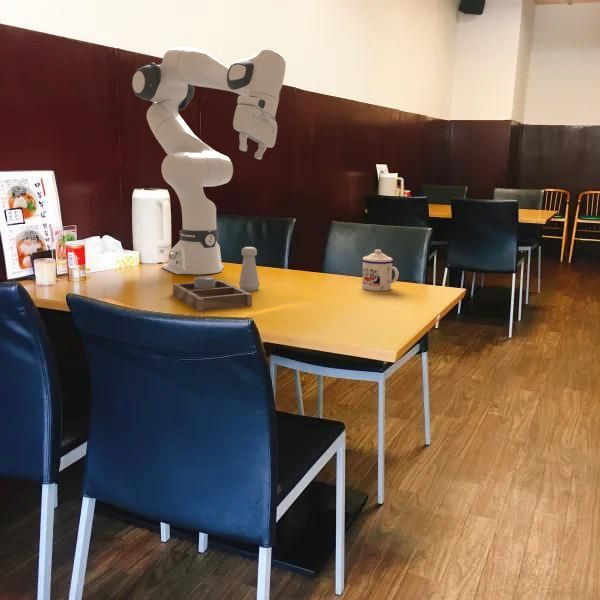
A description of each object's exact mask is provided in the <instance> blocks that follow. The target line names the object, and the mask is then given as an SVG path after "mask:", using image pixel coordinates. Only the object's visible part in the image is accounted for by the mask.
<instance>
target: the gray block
mask: <svg viewBox="0 0 600 600" xmlns="http://www.w3.org/2000/svg"><path fill="white" fill-rule="evenodd" d="M215 281H216V277H214V276H205V275H204V276H197V277H194V278H193V283H194V290H198V289H209V288H215Z"/></svg>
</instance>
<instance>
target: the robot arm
mask: <svg viewBox="0 0 600 600" xmlns="http://www.w3.org/2000/svg"><path fill="white" fill-rule="evenodd" d="M286 62H287V61H286V59H285V57H284V56H283V55H282V54H280V53H278V52H277V51H276V50H273V49H270V48H262V49H260V50H259V51H258V52H257V54H255V55H253V56H251V57H247V58H245V59H237V60H235V61H234V62H233V63H232V64H231V65H230V66H229V67H228V66H227V65H226V64H224V63H222V62H221V61H219V60H218V59H217V58H215V57H214V56H212V55H210V54H209V53H207V52H205V51H203V50H201V49H199V48H198V49H197V48H194V47H187V46H181V47H180V46H178V47H172V48H169V49H168V50H167V51H166V52H164V55H163V57H162V62H161V63H160V64H156V63H155V62H151V63H149V64H148V65H145V66H141V67H139V68H137V69H136V70H135V72H133V74H132V78H131V88H132V91H133V93H134V95H135V96H136V97H137V98H139V99H141V100H144V101H147V102H148V101H150V102H152V105H150V106H149V108H148V109H147V112H146V120H147V123H148V125H149V129H150V130H151V132H152V134H153V135H154V137H155V139H156V140H157V141H158V143H159V144H160V145H161V147H162V149H163V150H164V152H165V153H166V154H167V155H166V156H165V157H164V159H163V161H162V163H161V174H162V177H163V180H164V181H165V182H166V183H167V184H168V185H169V186H170V187H172V189H173V190H174V192H175V193H176V195H177V197H178V200H179V203H180V207H181V208H180V209H181V216H182V217H181V218H182V221H181V222H182V229H181V230H179V231H178V232H179V233H178V235H179V241H178V242H177V243H176V244H175V245H174V246H173V247H172V248H171V249H170V250H169V252H168V263H164V264H161V268H162V269H164V270H166V271H168V272H171V273H172V274H173V273H174V274H176V275H209V274H210V275H211V274H216V273H221V272H222V271H223V269H225V267H224V266H225V265H224V264H222V255H221V246H220V244H219V243H218V239H219V231H218V230H219V229H217V206H216V205H215V203H214V202H213V201H212V200H210V199H208V198H207V196H206V194H205V192H204V187H205V188H206V187H208V188H209V187H217V186H222V185H224V184H225V185H226V184H228V183H229V182H230V181H231V179H232V177H233V173H234V167H233V163H232V161H231V159H230V158H229V156H227V155H224V154H222V153H220V152H219V151H216V150H215V149H213V148H212V147H211V146H209V145H208V144H206V143H205V142H203V140H202V139H200V138H199V137H198V136H197V135H196V134H194V132H193V131H192V130H191V128H190V127H189V125H187V123H186V122H185V120H184V119H183V118H182V116H181V114H180V113H179V112H181V111H183V110H185V109H186V107H187V106H188V105H189V104H190V102H191V101H192V99H193V97H194V94H195V86H196V87H200V88H201V87H202V88H209V89H217V90H221V91H226V92H230V93H234V94H238V95H239V96H238V97H237V100H236V101H237V105H236V107H235V111H234V116H233V121H232V125H233V126H232V127H233V129H234V130H235V131H237V132H239V136H238V138H239V145H238V146H239V147H238V149H239V150H240V151H242V152H247V151H248V144H247V141H248V140H247V139H248V138H249V139H250V140H251V141H254V142H255V143H258V146H257V147H258V148H257V150H256V151H254V156H253V157H254V158H255V159H257V160H262V159H263V155H264V153H265V151H266V150H267V148H270V149H271V148H274V146H275V144H276V140H277V135H278V123H277V121H276V114H277V109H278V105H279V102H280V96H281V93H282V88H283V83H284V79H285V75H286V67H287V65H286Z"/></svg>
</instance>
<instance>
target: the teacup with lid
mask: <svg viewBox="0 0 600 600" xmlns="http://www.w3.org/2000/svg"><path fill="white" fill-rule="evenodd" d="M361 261H362V276H361V277H362V278H361V279H362V280H361V288H362V289H363V290H365V291H369V292H371V291H372V292H387V291H389V290H391V289H392V284H393V283H396V282H397V280H398V278H399V275H400V274H399V270H398V268H397V267H396V266H393V262H394V259H393V258H392V257H390V256H388V255H387V254H385V253H383V252H382V250H381V249H374V252H372V253H369V255H365V256H363V257H362V260H361ZM392 271H393V272H394V277H393V279H392Z"/></svg>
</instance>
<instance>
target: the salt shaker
mask: <svg viewBox="0 0 600 600" xmlns="http://www.w3.org/2000/svg"><path fill="white" fill-rule="evenodd" d="M240 253H241V256H242V257H243V258H242V264H241V270H240V275H239V282H238V285H239V287H238V288H240V289H242V290H244V291H246V292H254V291H258V289H259V287H260V280H259V279H260V278H259V275H258V269H257V265H256V264H257V263H256V256H257V255H258V250H257V248H256V247H253V246H245V247H242V249H241V252H240Z"/></svg>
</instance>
